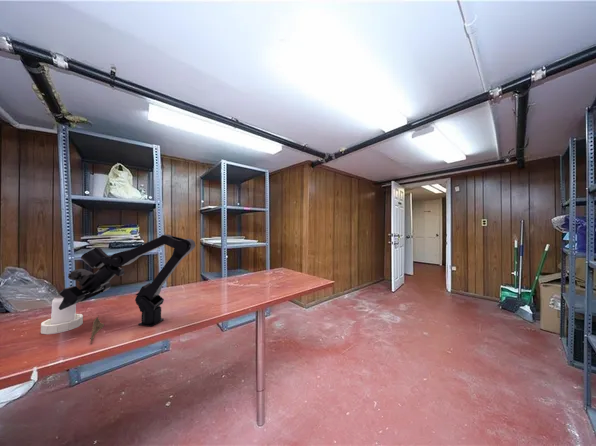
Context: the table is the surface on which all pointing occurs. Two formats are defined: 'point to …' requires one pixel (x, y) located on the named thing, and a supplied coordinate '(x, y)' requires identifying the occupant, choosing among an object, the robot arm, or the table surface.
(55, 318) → the white rounded block
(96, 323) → the brown curved piece
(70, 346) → the table surface
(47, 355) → the table surface
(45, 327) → the bowl
